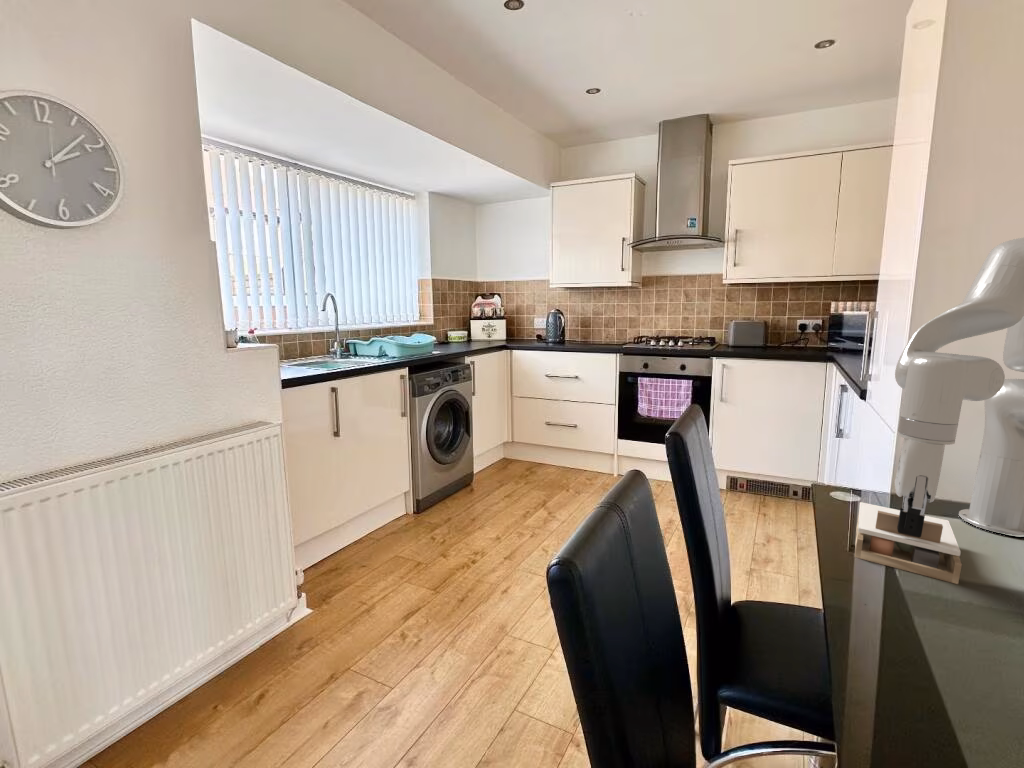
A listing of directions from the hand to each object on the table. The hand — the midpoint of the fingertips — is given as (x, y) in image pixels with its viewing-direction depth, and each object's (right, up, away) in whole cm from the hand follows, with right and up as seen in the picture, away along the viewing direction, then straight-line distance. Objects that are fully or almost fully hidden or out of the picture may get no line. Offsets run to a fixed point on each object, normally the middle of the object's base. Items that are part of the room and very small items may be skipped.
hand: (908, 533), depth 87 cm
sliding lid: (+4, -1, +7) cm, 8 cm away
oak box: (+3, -6, +5) cm, 8 cm away
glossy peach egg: (-2, -5, +4) cm, 7 cm away
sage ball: (+4, -5, +6) cm, 8 cm away
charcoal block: (+3, -6, 0) cm, 6 cm away
